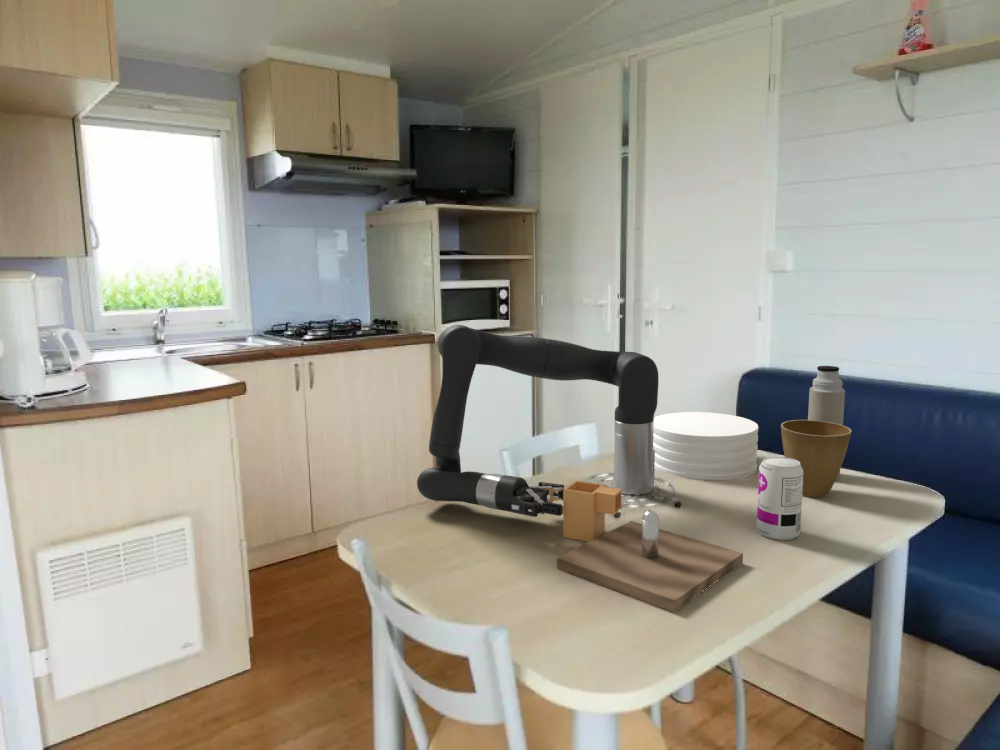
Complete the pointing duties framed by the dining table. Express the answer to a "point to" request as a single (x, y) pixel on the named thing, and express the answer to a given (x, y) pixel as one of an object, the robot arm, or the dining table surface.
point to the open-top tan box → (588, 509)
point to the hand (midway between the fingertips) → (570, 503)
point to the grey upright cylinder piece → (650, 535)
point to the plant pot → (816, 452)
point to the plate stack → (705, 445)
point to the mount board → (651, 565)
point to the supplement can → (779, 498)
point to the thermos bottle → (827, 397)
